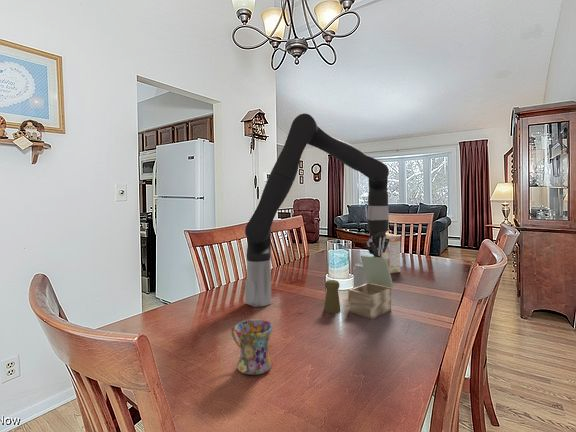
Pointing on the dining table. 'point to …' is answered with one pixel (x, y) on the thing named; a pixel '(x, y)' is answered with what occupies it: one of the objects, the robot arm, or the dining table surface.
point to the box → (369, 300)
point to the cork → (332, 297)
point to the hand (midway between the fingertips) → (377, 265)
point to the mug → (253, 346)
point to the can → (359, 275)
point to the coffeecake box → (393, 252)
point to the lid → (377, 270)
